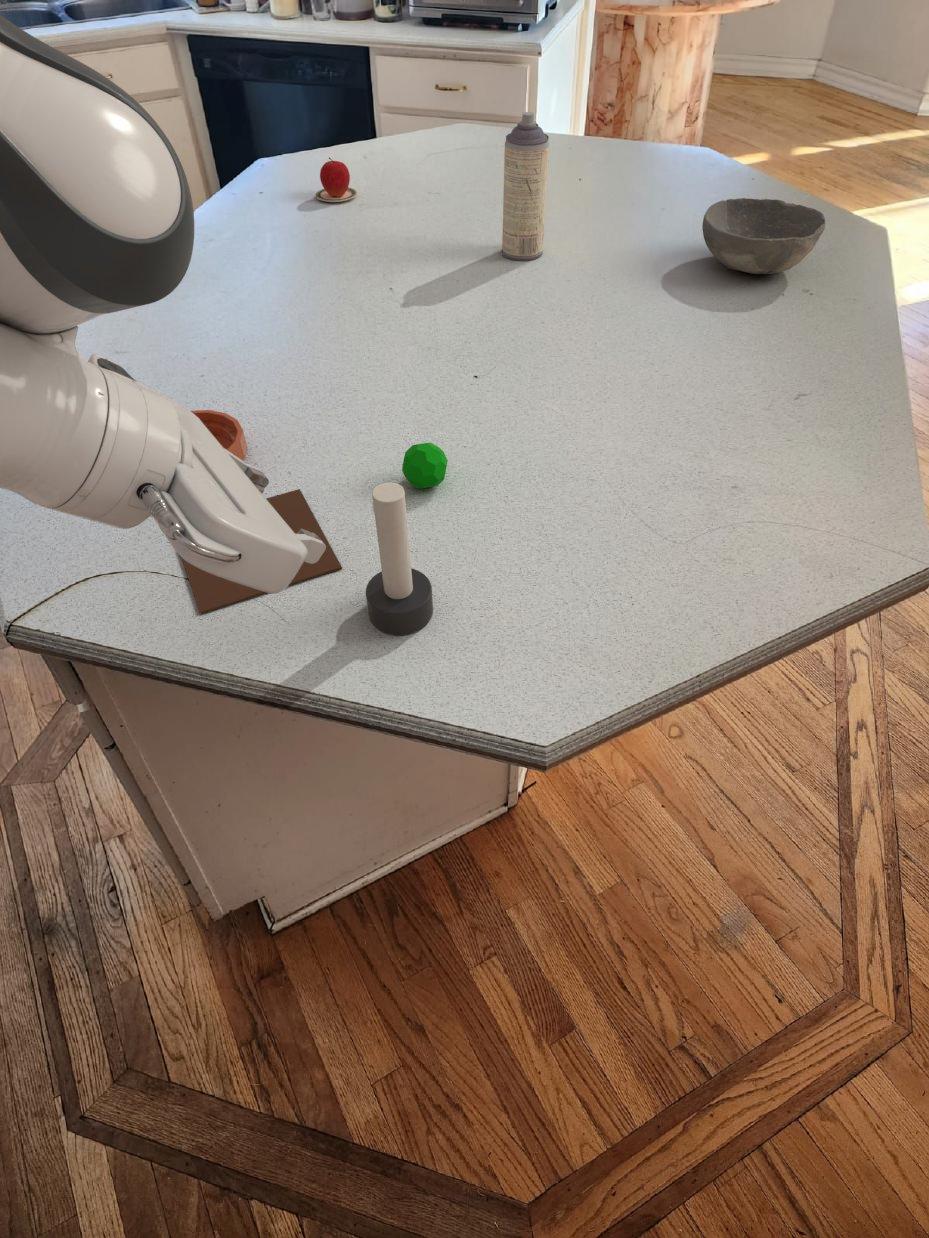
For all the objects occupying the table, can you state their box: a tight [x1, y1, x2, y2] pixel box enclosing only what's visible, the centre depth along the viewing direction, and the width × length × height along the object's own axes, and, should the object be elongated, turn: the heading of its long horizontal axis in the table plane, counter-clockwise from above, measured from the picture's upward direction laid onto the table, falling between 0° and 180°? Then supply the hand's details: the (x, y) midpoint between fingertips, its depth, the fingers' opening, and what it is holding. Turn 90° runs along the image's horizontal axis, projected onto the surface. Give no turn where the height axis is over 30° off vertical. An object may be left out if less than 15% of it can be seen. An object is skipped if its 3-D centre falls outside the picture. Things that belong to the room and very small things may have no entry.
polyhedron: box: [401, 442, 448, 490], centre depth 82 cm, size 5×5×5 cm
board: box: [181, 488, 343, 615], centre depth 77 cm, size 14×14×1 cm
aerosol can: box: [501, 111, 550, 262], centre depth 120 cm, size 7×7×20 cm
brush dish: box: [190, 409, 248, 461], centre depth 87 cm, size 12×12×3 cm
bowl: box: [701, 197, 826, 275], centre depth 119 cm, size 18×18×8 cm
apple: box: [315, 157, 358, 203], centre depth 144 cm, size 8×8×6 cm
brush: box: [365, 481, 434, 636], centre depth 66 cm, size 6×6×14 cm
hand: (288, 515), depth 57 cm, fingers open, 8 cm apart
